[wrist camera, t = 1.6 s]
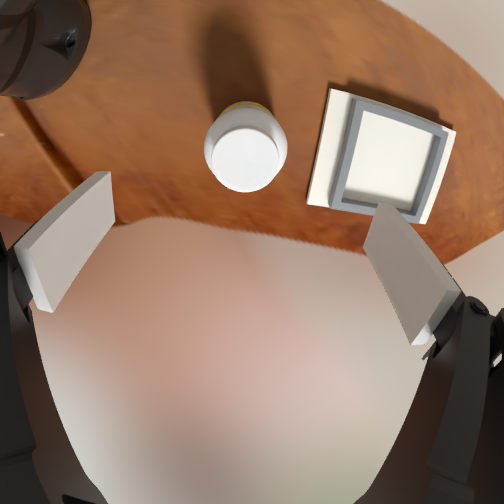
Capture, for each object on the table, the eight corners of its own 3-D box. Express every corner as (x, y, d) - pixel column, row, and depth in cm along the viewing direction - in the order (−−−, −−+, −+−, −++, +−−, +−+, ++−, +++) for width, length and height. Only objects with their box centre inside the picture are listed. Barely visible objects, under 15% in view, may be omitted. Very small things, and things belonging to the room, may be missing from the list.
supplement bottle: (252, 168, 32) (253, 222, 21) (204, 135, 30) (177, 173, 19) (289, 124, 29) (313, 154, 18) (240, 88, 27) (234, 94, 16)
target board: (306, 201, 34) (309, 209, 32) (329, 88, 26) (335, 89, 24) (422, 221, 36) (430, 229, 34) (452, 130, 28) (462, 135, 26)
